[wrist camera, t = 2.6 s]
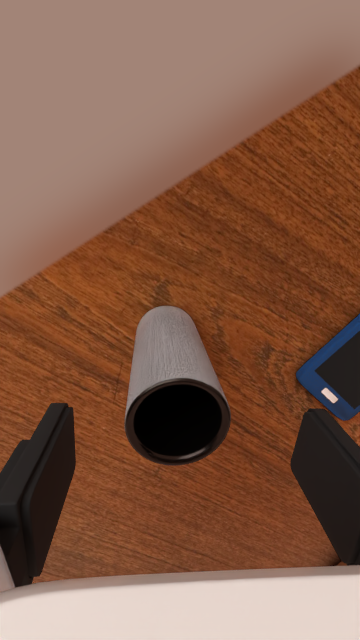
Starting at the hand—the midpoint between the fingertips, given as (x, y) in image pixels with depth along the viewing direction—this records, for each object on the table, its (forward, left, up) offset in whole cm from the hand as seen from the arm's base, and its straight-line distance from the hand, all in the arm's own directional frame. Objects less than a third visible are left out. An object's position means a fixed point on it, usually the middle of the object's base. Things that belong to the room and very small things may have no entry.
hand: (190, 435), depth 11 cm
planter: (0, 0, -11) cm, 11 cm away
